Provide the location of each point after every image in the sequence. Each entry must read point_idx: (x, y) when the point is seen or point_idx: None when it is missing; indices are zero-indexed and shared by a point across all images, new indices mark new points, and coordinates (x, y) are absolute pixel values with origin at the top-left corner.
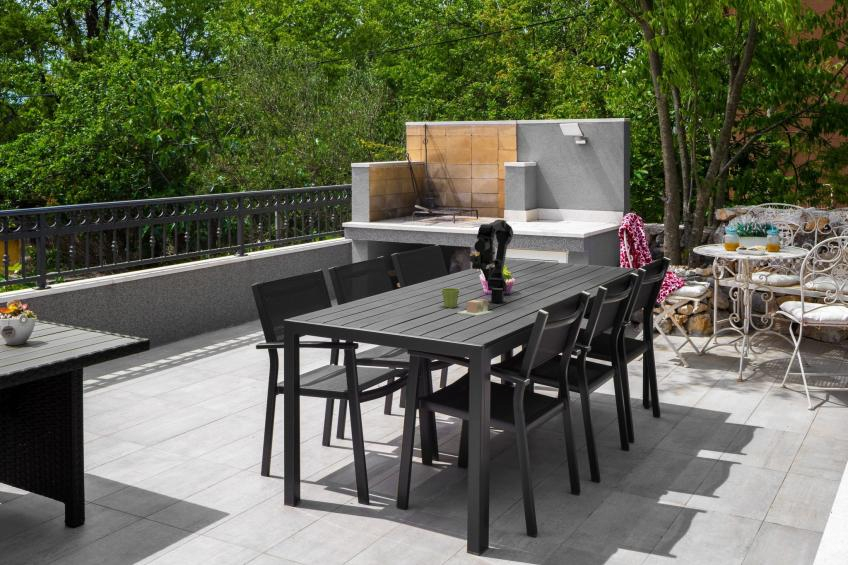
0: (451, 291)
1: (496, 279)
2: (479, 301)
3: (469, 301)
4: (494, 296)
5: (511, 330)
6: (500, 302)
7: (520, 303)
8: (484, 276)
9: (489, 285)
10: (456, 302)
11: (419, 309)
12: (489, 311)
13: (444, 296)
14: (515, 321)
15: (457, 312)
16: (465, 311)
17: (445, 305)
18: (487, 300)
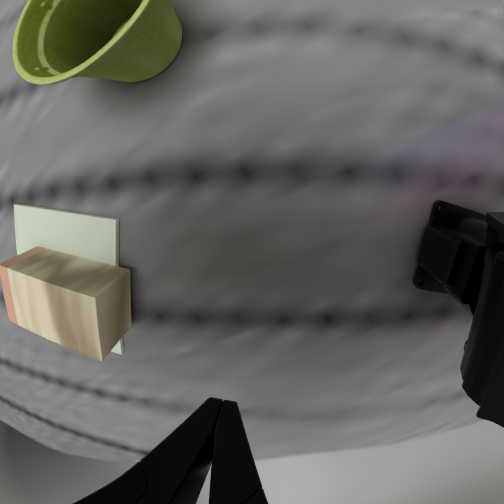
0: (17, 67)
1: (495, 383)
2: (38, 330)
3: (6, 277)
4: (438, 268)
5: (11, 424)
6: (429, 288)
7: (453, 365)
8: (156, 448)
9: (485, 259)
10: (124, 78)
11: None
12: None
13: (63, 16)
14: (69, 435)
15: (15, 207)
16: (40, 233)
17: (104, 36)
18: (101, 358)
